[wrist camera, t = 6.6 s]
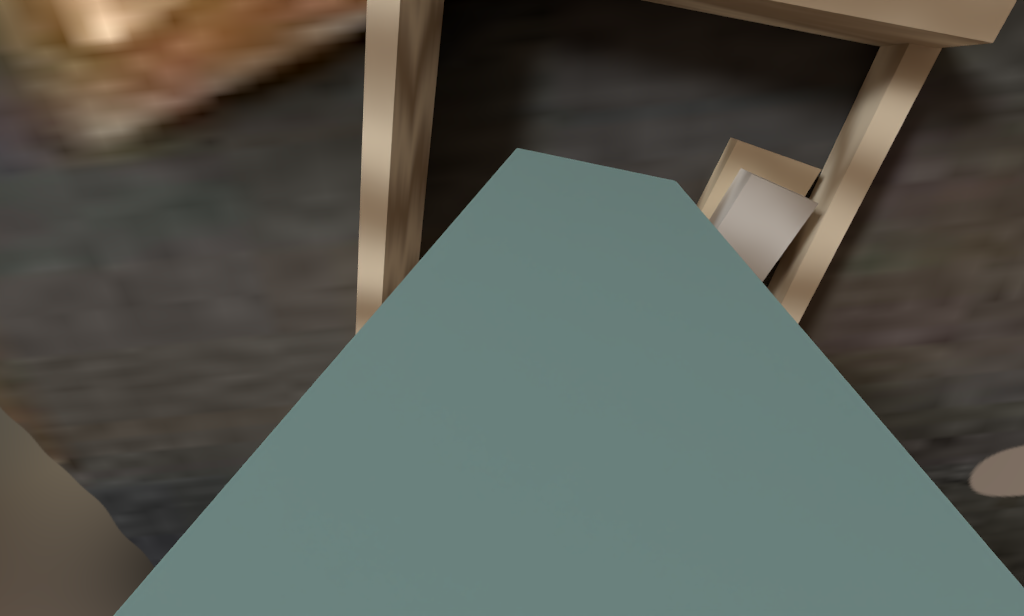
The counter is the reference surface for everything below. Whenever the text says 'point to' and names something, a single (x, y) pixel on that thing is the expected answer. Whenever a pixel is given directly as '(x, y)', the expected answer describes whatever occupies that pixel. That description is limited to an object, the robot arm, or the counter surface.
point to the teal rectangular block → (580, 443)
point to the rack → (783, 3)
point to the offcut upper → (760, 219)
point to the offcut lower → (754, 172)
